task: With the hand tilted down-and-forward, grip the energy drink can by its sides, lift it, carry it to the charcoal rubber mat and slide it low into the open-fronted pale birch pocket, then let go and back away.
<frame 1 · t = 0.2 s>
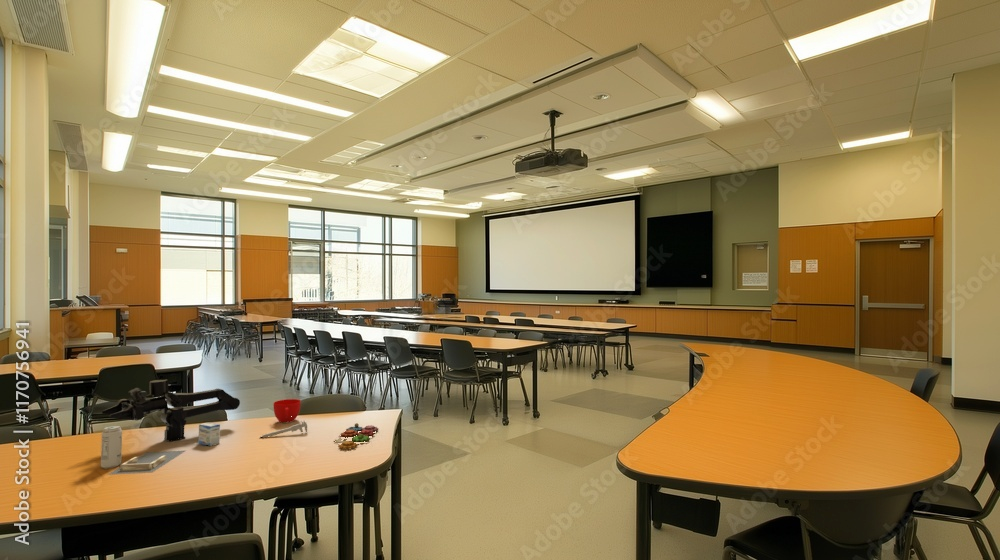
hand: (105, 414, 190), 17 cm above the table, tool horizontal, fingers open, 9 cm apart
pocket: (143, 465, 178), resting on mat
mat: (149, 462, 182), on the table
ceramic cup: (286, 422, 239), on the table
medicine box: (208, 444, 204), on the table
energy drink can: (111, 467, 177), on the table
caliper: (283, 436, 217), on the table
gear puzzle: (353, 440, 211), on the table
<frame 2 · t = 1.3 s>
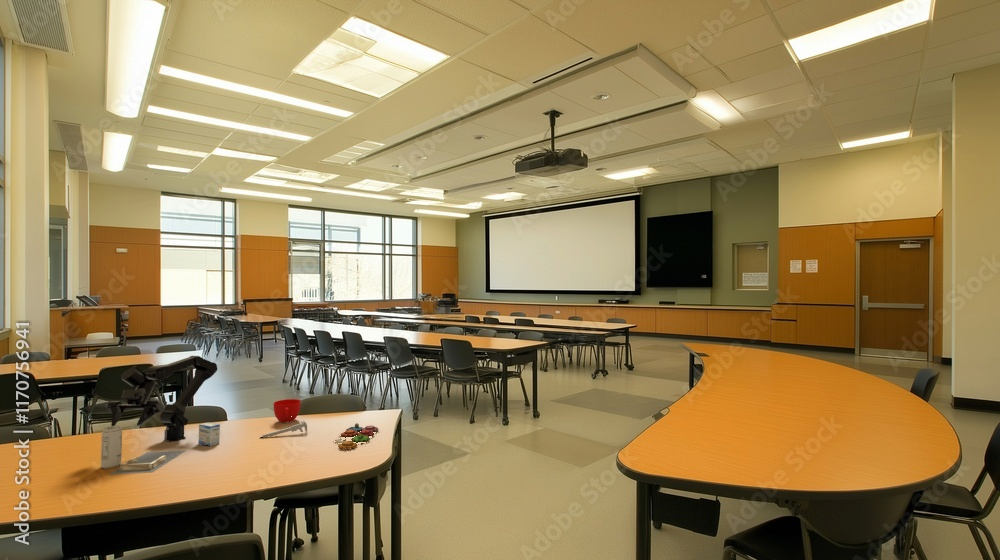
hand: (125, 425, 185), 13 cm above the table, tool tilted 45°, fingers open, 9 cm apart
nothing on the table moved.
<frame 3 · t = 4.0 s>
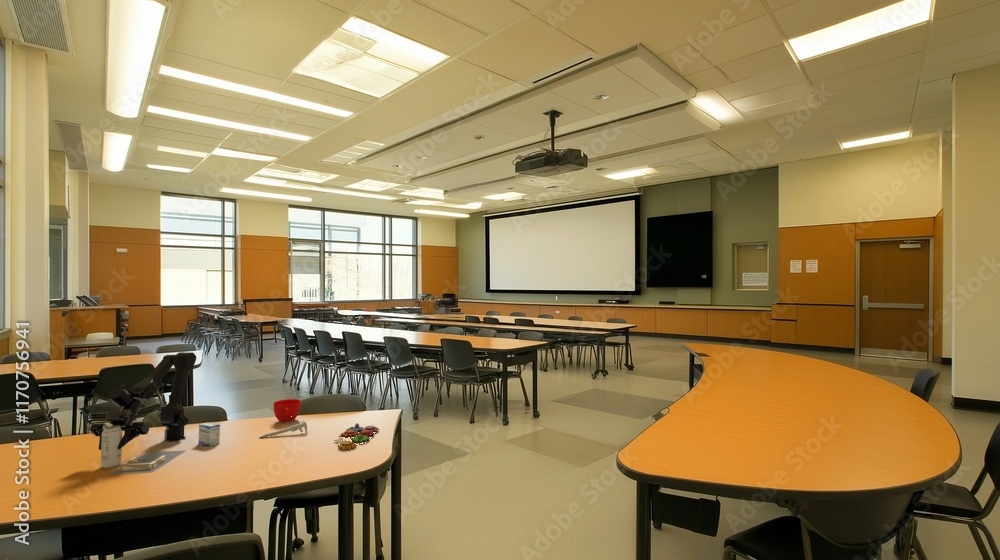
hand: (109, 449, 176), 7 cm above the table, tool tilted 45°, fingers closed on energy drink can, 6 cm apart
energy drink can: (111, 467, 177), on the table, touching gripper
everything else where it was.
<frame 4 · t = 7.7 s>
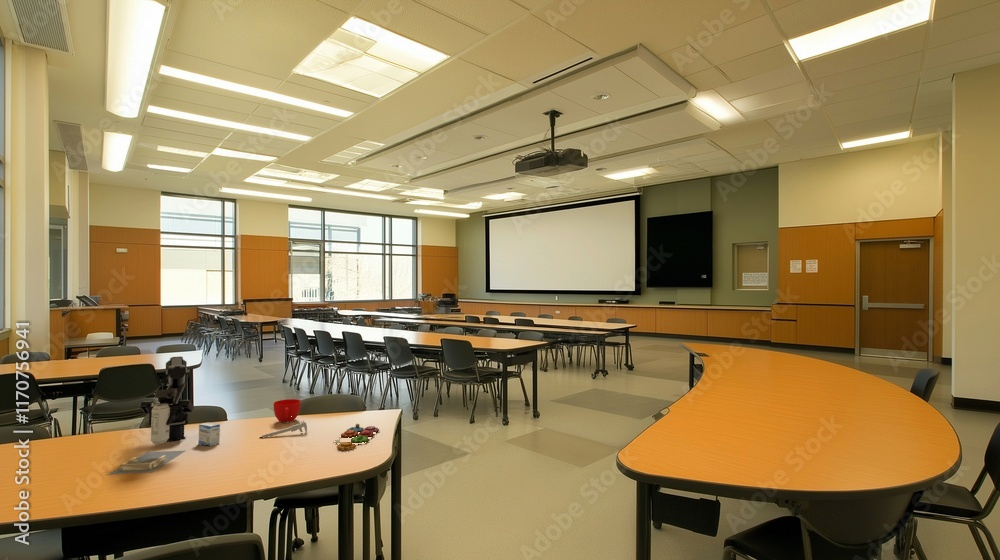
hand: (158, 425, 188), 13 cm above the table, tool tilted 45°, fingers closed on energy drink can, 6 cm apart
energy drink can: (159, 442, 189), point 6 cm above the table, touching gripper
everything else where it was.
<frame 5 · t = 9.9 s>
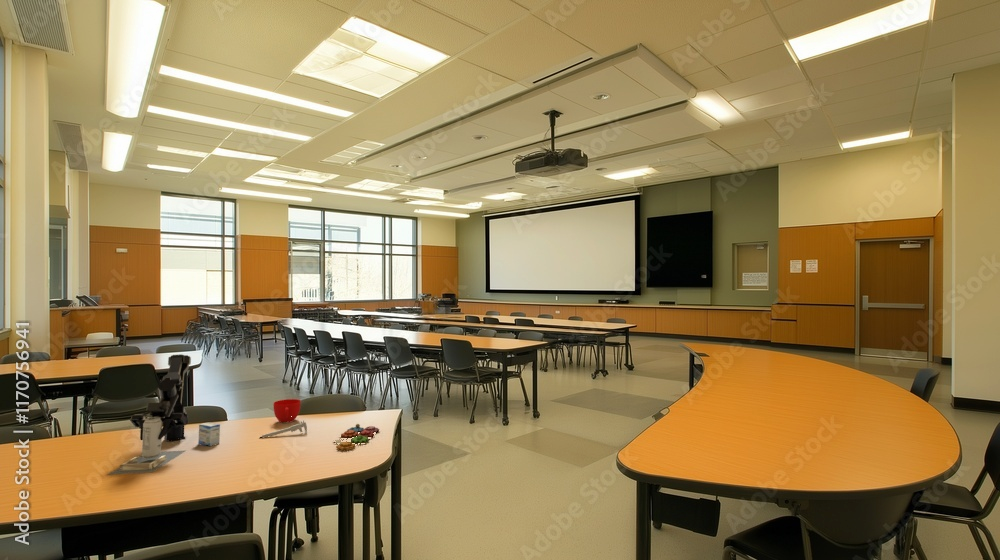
hand: (150, 439, 182), 9 cm above the table, tool tilted 45°, fingers closed on energy drink can, 6 cm apart
energy drink can: (151, 457, 183), point 2 cm above the table, touching gripper
when the fingers open (9 cm above the table, at t = 11.5 s): energy drink can drops 1 cm, resting on mat.
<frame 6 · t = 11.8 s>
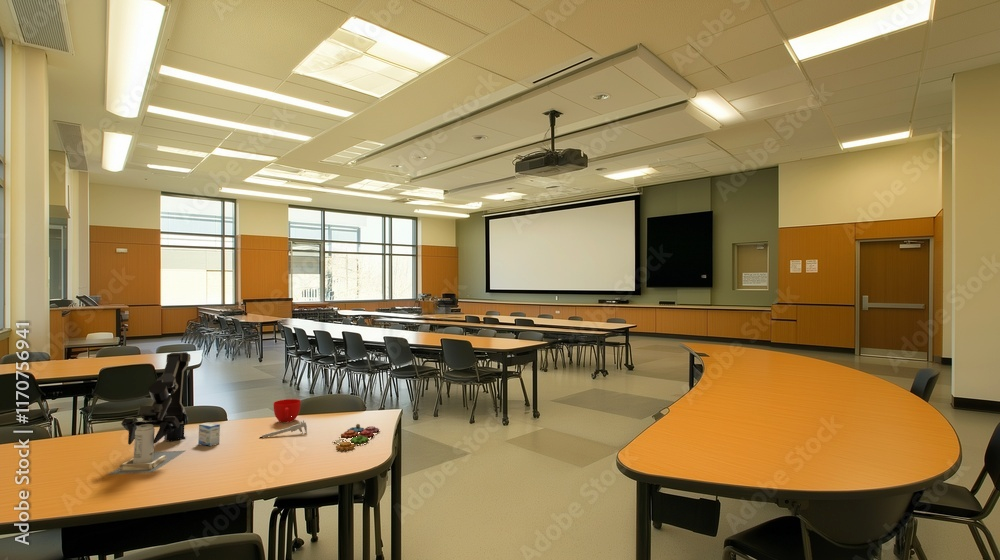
hand: (141, 443, 176), 9 cm above the table, tool tilted 45°, fingers open, 8 cm apart
energy drink can: (143, 465, 178), resting on mat
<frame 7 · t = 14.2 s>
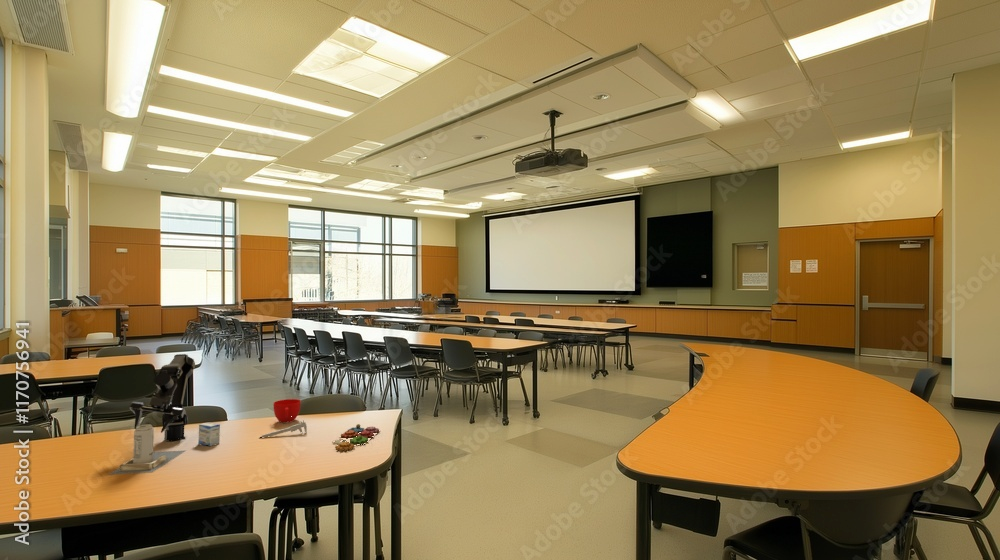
hand: (148, 430, 188), 10 cm above the table, tool tilted 35°, fingers open, 9 cm apart
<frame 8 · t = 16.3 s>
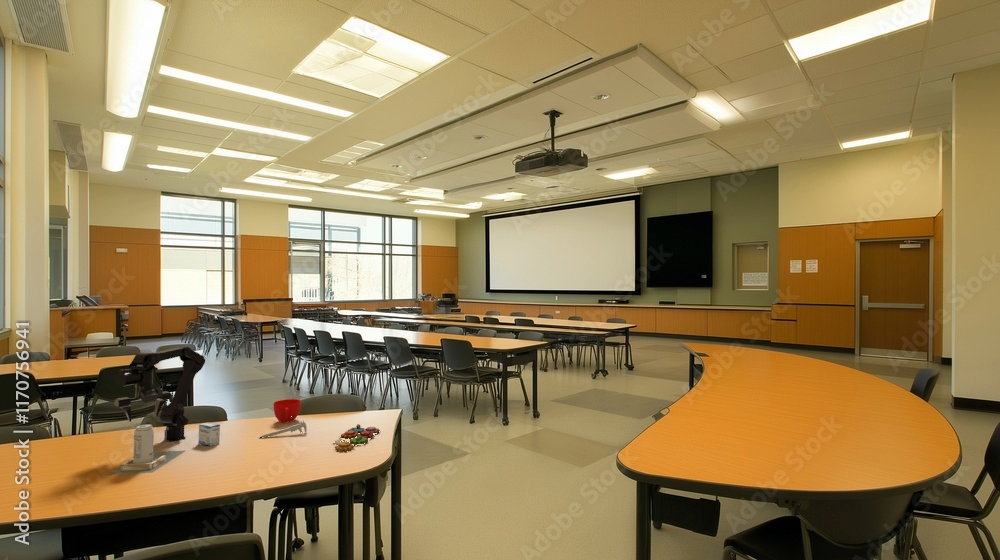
hand: (143, 419, 196), 13 cm above the table, tool pointing down, fingers open, 9 cm apart
at the end: energy drink can 0.2 cm from the pocket (horizontally); energy drink can resting on mat; energy drink can tilted 0° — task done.
